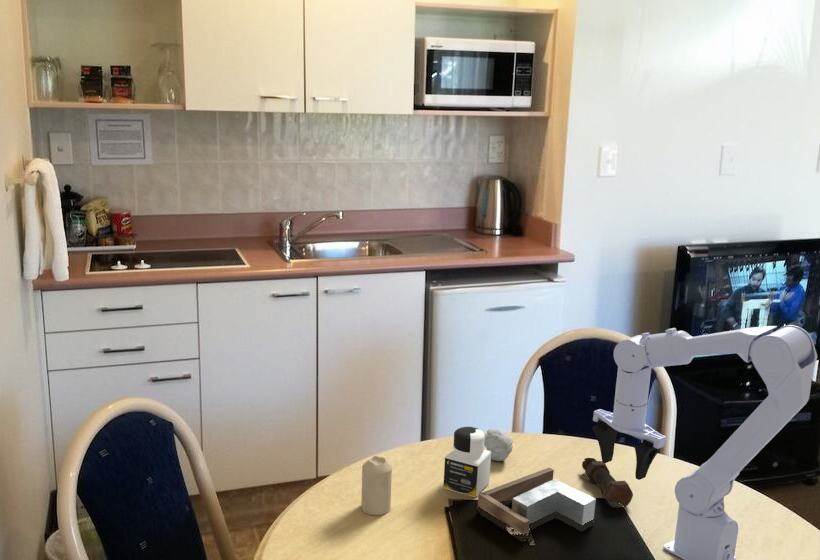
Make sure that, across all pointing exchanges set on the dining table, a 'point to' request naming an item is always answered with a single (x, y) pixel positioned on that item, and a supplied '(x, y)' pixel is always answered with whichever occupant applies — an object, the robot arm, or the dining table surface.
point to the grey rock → (498, 444)
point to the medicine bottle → (467, 463)
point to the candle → (376, 486)
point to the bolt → (607, 482)
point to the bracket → (555, 503)
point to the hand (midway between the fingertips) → (623, 469)
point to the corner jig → (507, 492)
